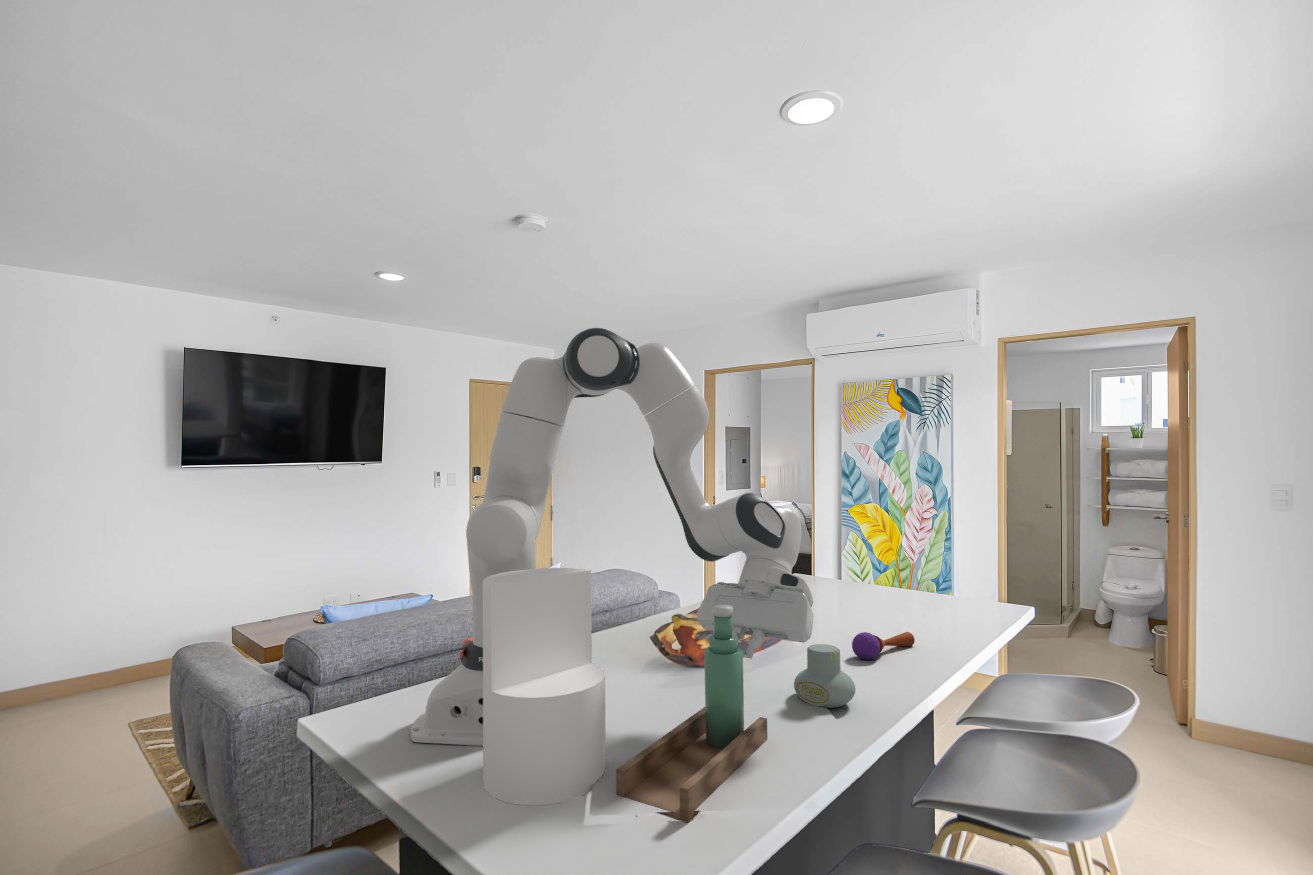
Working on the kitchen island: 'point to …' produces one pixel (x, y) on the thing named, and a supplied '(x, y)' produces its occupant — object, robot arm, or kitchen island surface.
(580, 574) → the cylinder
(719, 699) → the bottle
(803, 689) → the air freshener
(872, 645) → the purple maraca
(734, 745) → the u rest
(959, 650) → the kitchen island surface
